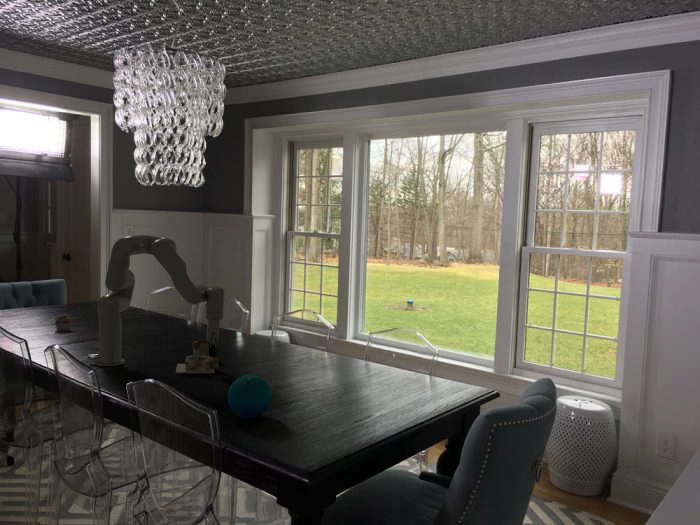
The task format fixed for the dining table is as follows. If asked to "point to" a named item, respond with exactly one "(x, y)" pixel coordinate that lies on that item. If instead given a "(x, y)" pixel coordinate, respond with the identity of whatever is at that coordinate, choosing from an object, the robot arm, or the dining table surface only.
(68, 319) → the cupcake
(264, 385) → the decorative orb
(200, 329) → the dining table surface
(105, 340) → the robot arm
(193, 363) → the birch loop
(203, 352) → the flower pot
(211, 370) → the post stand
